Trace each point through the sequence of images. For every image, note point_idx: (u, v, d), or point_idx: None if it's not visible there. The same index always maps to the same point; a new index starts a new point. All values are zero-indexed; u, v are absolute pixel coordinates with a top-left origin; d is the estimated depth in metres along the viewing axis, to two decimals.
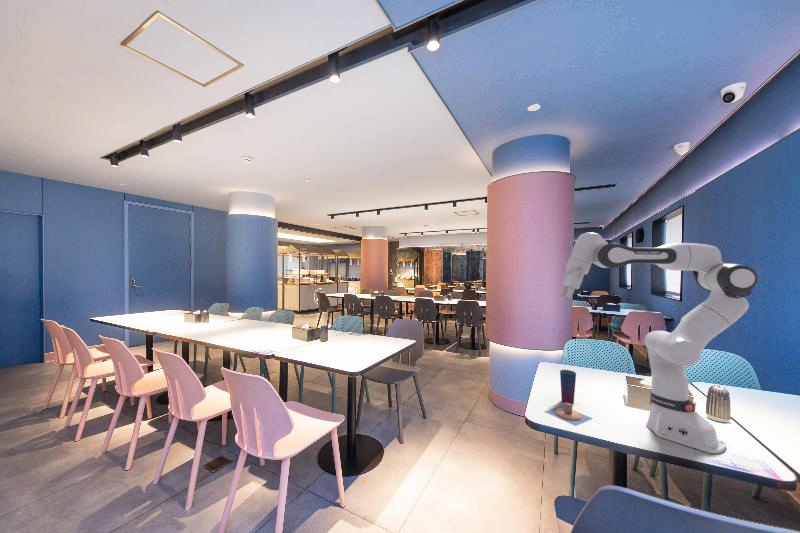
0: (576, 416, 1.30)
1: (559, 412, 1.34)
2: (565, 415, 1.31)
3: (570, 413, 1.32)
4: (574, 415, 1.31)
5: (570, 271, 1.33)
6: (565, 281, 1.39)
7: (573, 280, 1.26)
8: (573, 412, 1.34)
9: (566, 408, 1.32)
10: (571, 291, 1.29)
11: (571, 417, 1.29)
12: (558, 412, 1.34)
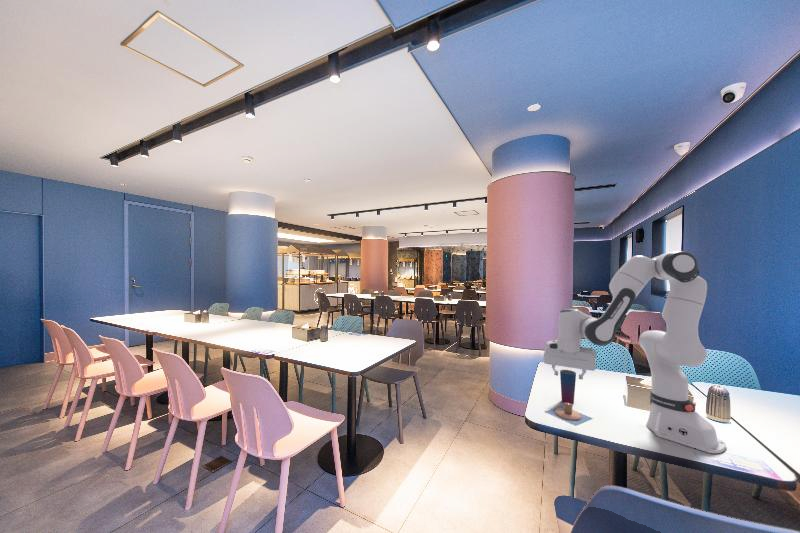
0: (576, 416, 1.30)
1: (559, 412, 1.34)
2: (565, 415, 1.31)
3: (570, 413, 1.32)
4: (574, 415, 1.31)
5: (574, 353, 1.31)
6: (558, 361, 1.34)
7: (595, 364, 1.28)
8: (573, 412, 1.34)
9: (566, 408, 1.32)
10: None
11: (571, 417, 1.29)
12: (558, 412, 1.34)
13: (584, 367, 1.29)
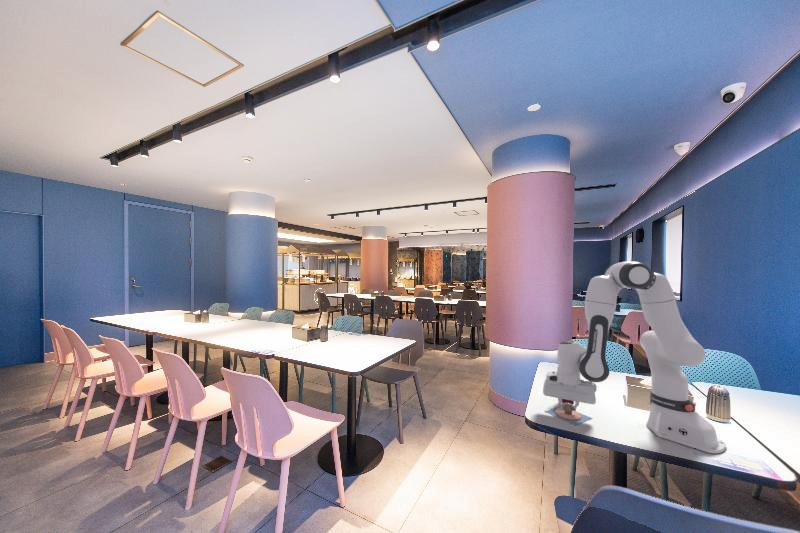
0: (576, 416, 1.30)
1: (559, 412, 1.34)
2: (565, 415, 1.31)
3: (570, 413, 1.32)
4: (574, 415, 1.31)
5: (574, 386, 1.30)
6: (558, 394, 1.33)
7: None
8: (573, 412, 1.34)
9: (566, 408, 1.32)
10: None
11: (571, 417, 1.29)
12: (558, 412, 1.33)
13: (584, 400, 1.29)
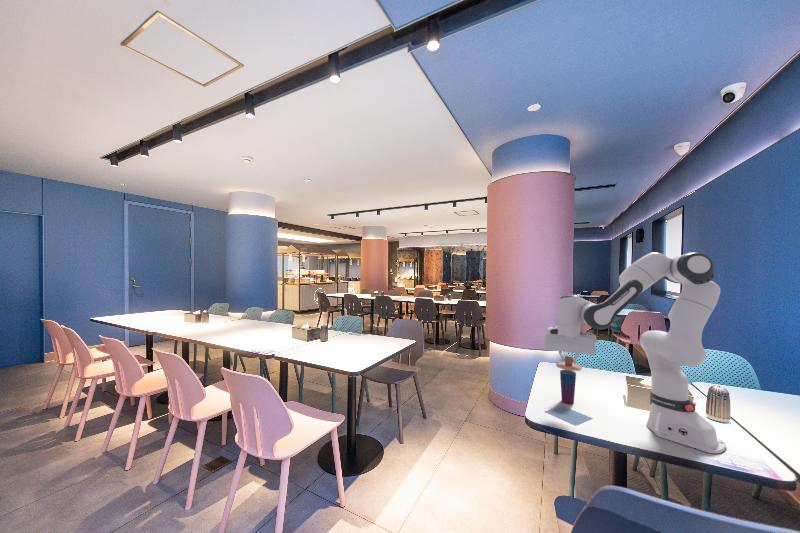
0: (577, 367, 1.33)
1: (560, 365, 1.36)
2: (566, 366, 1.34)
3: (571, 365, 1.35)
4: (574, 366, 1.34)
5: (574, 338, 1.33)
6: (559, 346, 1.36)
7: None
8: (573, 364, 1.37)
9: (567, 360, 1.35)
10: None
11: (572, 368, 1.32)
12: (559, 365, 1.36)
13: (584, 351, 1.32)
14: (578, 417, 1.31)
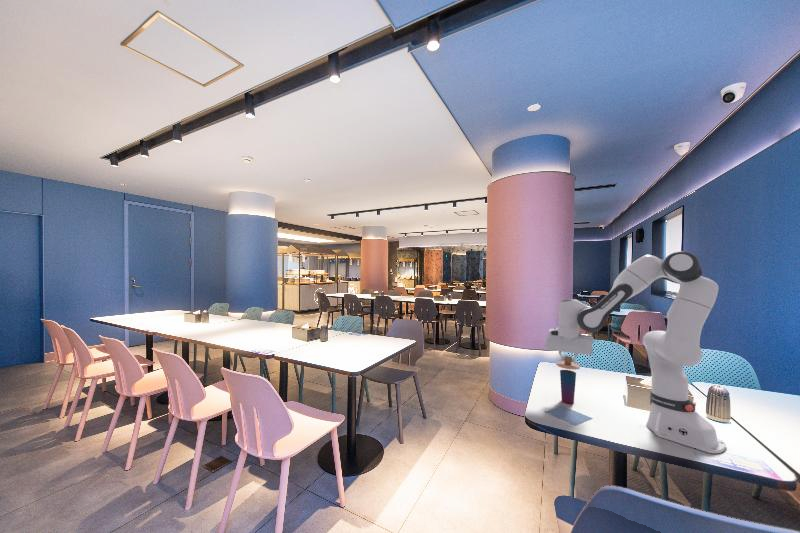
0: (575, 366, 1.44)
1: (560, 364, 1.47)
2: (565, 365, 1.45)
3: (570, 364, 1.45)
4: (573, 365, 1.45)
5: (573, 339, 1.44)
6: (559, 347, 1.47)
7: (592, 349, 1.41)
8: (572, 364, 1.48)
9: (566, 360, 1.46)
10: (576, 356, 1.45)
11: (570, 367, 1.43)
12: (559, 364, 1.47)
13: (582, 352, 1.43)
14: (578, 417, 1.31)
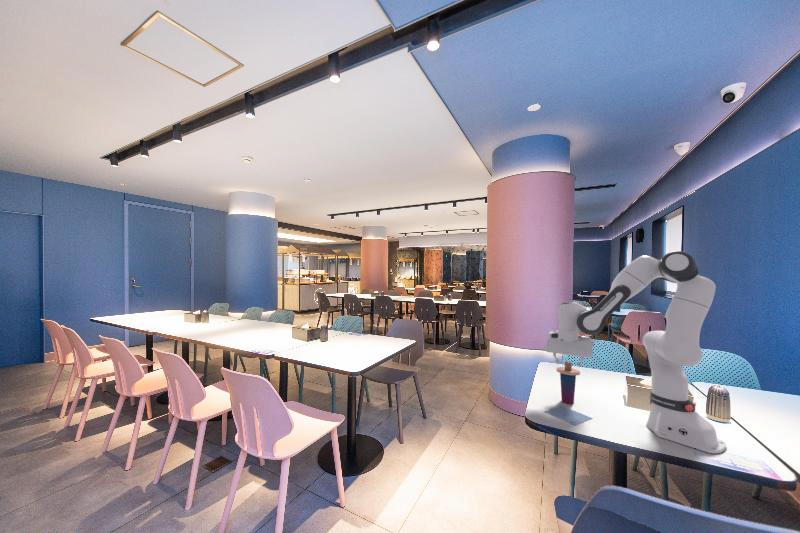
0: (575, 372, 1.44)
1: (560, 369, 1.47)
2: (565, 371, 1.44)
3: (570, 370, 1.45)
4: (573, 371, 1.45)
5: (573, 341, 1.44)
6: (559, 349, 1.47)
7: (592, 351, 1.41)
8: (572, 369, 1.47)
9: (566, 365, 1.46)
10: None
11: (571, 373, 1.43)
12: (559, 369, 1.47)
13: (582, 354, 1.43)
14: (578, 417, 1.31)
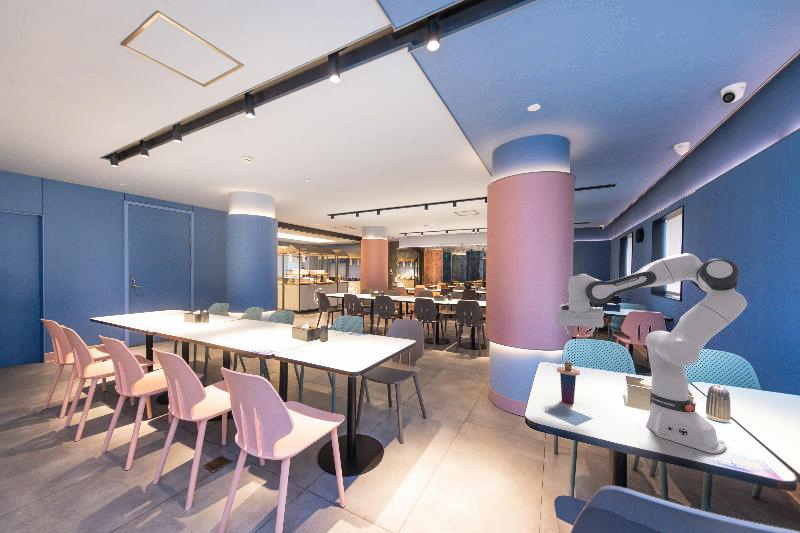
0: (576, 372, 1.43)
1: (560, 369, 1.47)
2: (565, 371, 1.44)
3: (570, 370, 1.45)
4: (573, 371, 1.45)
5: (584, 313, 1.46)
6: (570, 321, 1.49)
7: (603, 321, 1.43)
8: (572, 369, 1.47)
9: (566, 365, 1.46)
10: (594, 329, 1.46)
11: (571, 373, 1.43)
12: (559, 369, 1.47)
13: (593, 325, 1.45)
14: (578, 417, 1.31)
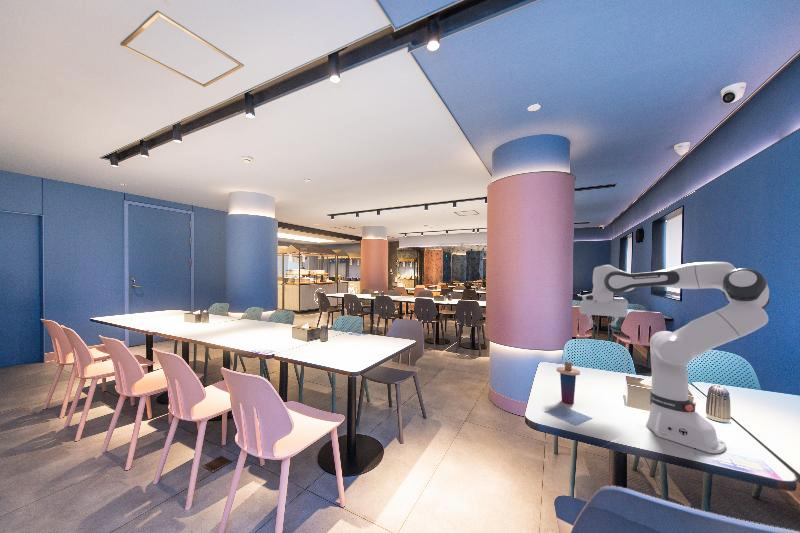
0: (576, 372, 1.43)
1: (560, 369, 1.47)
2: (565, 371, 1.44)
3: (570, 370, 1.45)
4: (573, 371, 1.45)
5: (608, 302, 1.50)
6: (593, 311, 1.54)
7: None
8: (572, 369, 1.47)
9: (566, 365, 1.46)
10: (617, 319, 1.51)
11: (571, 373, 1.43)
12: (559, 369, 1.47)
13: (617, 314, 1.49)
14: (578, 417, 1.31)
